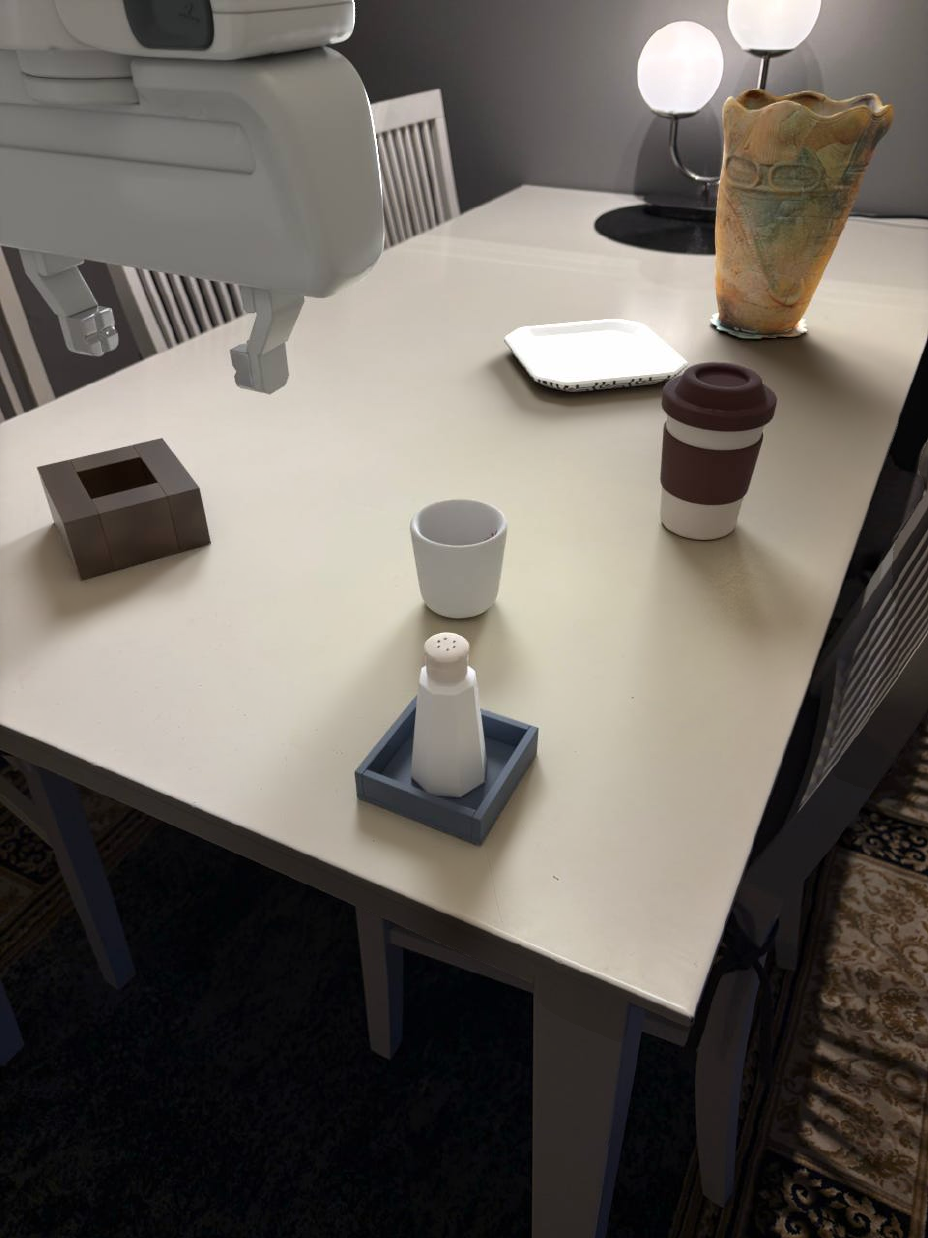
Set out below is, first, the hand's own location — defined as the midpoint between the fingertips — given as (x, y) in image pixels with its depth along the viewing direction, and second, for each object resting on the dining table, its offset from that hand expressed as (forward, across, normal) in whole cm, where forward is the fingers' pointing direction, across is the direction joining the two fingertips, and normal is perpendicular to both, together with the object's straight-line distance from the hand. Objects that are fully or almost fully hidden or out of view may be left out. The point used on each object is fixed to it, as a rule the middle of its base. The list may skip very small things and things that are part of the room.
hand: (175, 368), depth 40 cm
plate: (+31, -9, +84) cm, 90 cm away
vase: (+31, +8, +110) cm, 114 cm away
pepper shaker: (+31, +8, +10) cm, 33 cm away
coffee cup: (+31, +14, +50) cm, 61 cm away
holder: (+31, -34, +24) cm, 52 cm away
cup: (+31, -2, +29) cm, 43 cm away
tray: (+31, +8, +10) cm, 34 cm away
